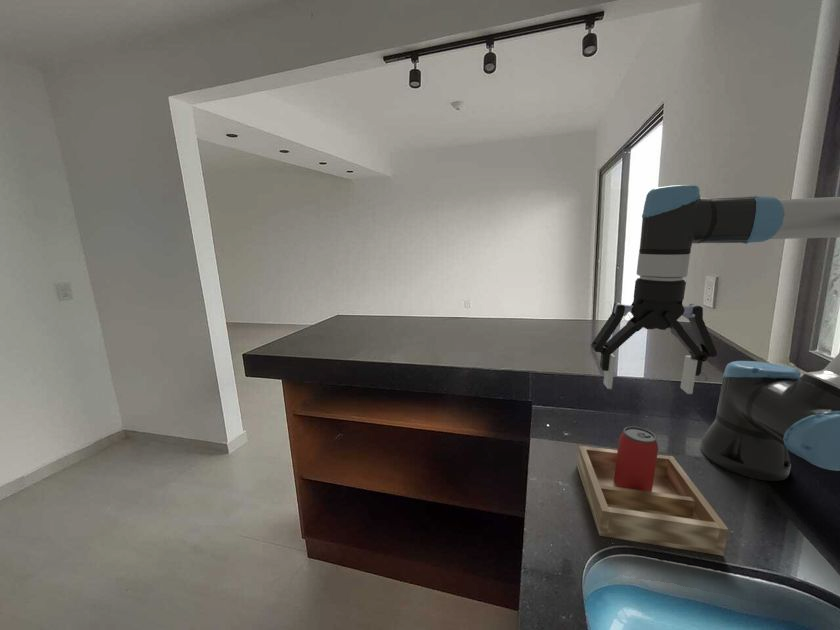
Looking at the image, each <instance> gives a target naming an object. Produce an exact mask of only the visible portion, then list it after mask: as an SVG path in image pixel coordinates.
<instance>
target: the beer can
mask: <svg viewBox="0 0 840 630" xmlns="http://www.w3.org/2000/svg"><path fill="white" fill-rule="evenodd" d="M657 439H658V437H657V436H656V435H655V434H654V432H652V431H650V430H648V429H646V428H643V427H639V426H626V427H624V428H623V430H622V433H621V434H620V436H619V439H618V443H617V450H618V452H617V460H616V468H615V476H614V481H615V484H616V485H617V486H618V487H620V488H627V489H635V490H642V491H650V492H652V487H653V480H654V474H655V467H656V461H657V455H659V454H658V453H659V444H658V442H657Z"/></svg>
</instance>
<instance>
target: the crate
mask: <svg viewBox="0 0 840 630" xmlns="http://www.w3.org/2000/svg"><path fill="white" fill-rule="evenodd" d="M617 452H618V449H611V448H610V449H609V448H604V447H603V448H602V447H593V446H585V445H578V451H577V463H576V466H577V470H578V472H579V473H578V474H579V476H580V480H581V482H582V485H583V489H584V492H585V495H586V499H587V501H588V505H589V507H590V511H591V514H592V517H593V520H594V523H595V527H596V530H597V532H598V535H599V536H601V537H607V538H611V539H612V538H613V539H618V540H625V541H629V542H630V541H631V542H637V543H643V544H650V545H655V546H662V547H667V548H674V549H680V550H686V551H691V552H698V553H702V554H703V553H705V554H711V555H716V556H722V557H723V556H724V553H725V550H726V549H725V548H726V545H727V540H728V537H729V536H728V535H729V528H728V527H727V525H726V524H725V523H724V521H723V520H722V519H721V517H720V516H719V515H718V513H717V512H716V511H715V509H714V508H713V507H712V505H710V503H709V502H708V501H707V499H706V497H704V495H703V494H702V493H701V492H700V490H699V489H698V487H697V486H696V485H695V483H694V482H693V481H692V480H691V478H690V477H689V475H688V474H687V472H686V471H685V470H684V469H683V468H682V466H681V465H680V464H679V463H678V461H677V460H676V459H675V457H674V456H672V455H663V454H657V461H656V467H655V474H654V480H653V487H652V492H650V491H642V490H635V489H627V488H620V487H618V486H617V485H616V484H615V481H614V476H615V468H616V460H617Z"/></svg>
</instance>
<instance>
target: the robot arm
mask: <svg viewBox="0 0 840 630" xmlns="http://www.w3.org/2000/svg"><path fill="white" fill-rule="evenodd" d="M641 218H642V220H641V221H642V222H641V230H640V240H639V241H640V243H639V250H638V256H637V257H638V259H637V268H636V275H637V276H638V277H637V278H636V279H635V283H634V291H633V292H634V293H633V301H632V303H631V304H622V303H620V302H614V304H613V307H612V310H611V311H612V312H611V314H610V316H609V317H608V319H607V320H606V322H605V323H604V325H603V326H602V328H601V329H600V330H599V332H598V334H597V336H596V337H595V338H594V340H593V341H592V342H591V345H590V346H591V348H592V350H594V351H595V352H596V353H600V361H599V368H600V369H601V371H604V374H603V385H604V386H605V387H606V389H607V390H612V389H613V381H614V374H615V373H614V371H615V364H616V363H615V362H616V356H615V355H614V354H613V353H614V352H615V351H617V349H618V348H621V346H622V345H623V344H624V343H625V342H626V341H627V340H629V339H630V338H631V337H633V335H635V333H637V332H639V331H641V330H642V329H643V328H644V329H645V330H654V329H655V330H656V329H658V330H663V331H665V330H667V329H669V330H670V331H671V332H672V333H673V335H674V336H676V338H677V339H678V341H679V342H680V343H681V344H682V345H683V347H684V349H686V350H687V351H688V352H689V354H690V355H685V356H684V362H683V368H682V375H681V380H680V381H681V382H680V389H681V390H683V391H684V392H685V393H686V394H687V395H693V392H694V385H695V380H696V377H698V376H700V375H701V373H702V367H703V362H707V360H708V358H710V357H711V358H715V357H717V355H718V352H717V350H716V346H715V345H714V342H713V340H712V338H711V335H710V332H709V331H708V328H707V326H706V323H705V321H704V318H703V317H704V308H703V307H702V306H700V305H698V304H695V303H689V305H683V303H684V302H683V301H684V299H685V292H686V286H687V282H686V281H685V279H684V278H687V276H688V273H689V265H690V257H691V251H692V247H693V244H745V245H747V244H749V243H762V242H766V241H769V240H781V239H782V240H787V239H788V240H792V239H793V240H794V239H795V240H796V239H823V238H824V239H826V238H827V239H829V238H833V239H835V238H840V196H833V197H830V196H828V197H809V198H808V197H807V198H788V199H787V198H785V199H778V198H776V197H774V196H765V195H764V196H761V195H760V196H758V195H756V194H755V195H752V196H750V195H749V196H748V195H747V196H728V197H726V196H725V197H713V198H712V197H711V198H710V197H709V198H708V197H701V195H700V187H699V186H698V185H695V184H690V185H689V184H680V185H679V184H677V185H668V186H659V187H656V188H653V189H651V190H650V191H649V192H647V194H646V196H645V201H644V206H643V211H642V214H641ZM629 313H630V314H631V316H632V317H631V318H630V319H629V320H628V321H627V322H626V324H625V325H624V326H623V327H621V329H620V330H619V331H617V332H616V333H615V334H614V335H613V333H614V332H615V330H616V329H617V327H618V326H619V325H620V323H621V321H622V320H623V318H624V317H625V316H627V315H628V314H629ZM683 315H685V317H687V318H688V321H689V323H690V326H691V328H692V330H693V333H694V336H695V337H696V340H697V343H698V345H699V346H698V345H697V344H696V343H695V341H694V340H693V339H692V338H691V337H690V336H689V333H687V331H686V330H685V329H684V327H683V326H682V325H681V323H680V322H679V321H678V320H679V319H680V318H681V317H682V316H683ZM801 374H802V372H801V371H800V370H799V369H798V368H795V367H793V366H787V365H783V364H776V363H772V362H771V363H770V362H763V361H754V360H752V361H750V360H736V361H731V362H729V363H727V365H726V367H725V369H724V371H723V375H722V376H721V377H722V382H721V387H720V393H719V398H718V399H719V400H718V404H717V408H716V409H717V410H716V415H715V419H714V420H713V422H712V423H711V425H710V426H709V427H708V429H707V430H706V431H705V433H704V435H703V436H702V438H701V441H700V447H699V448H700V451H701V452H702V454H703V456H705V457H706V458H707V459H708V460H710V461H711V462H713V463H714V464H716V465H718V466H719V467H722V468H724V469H725V470H727V471H730V472H733V473H735V474H738V475H740V476H744V477H747V478H750V479H755V480H761V481H765V482H766V481H768V482H769V481H770V482H779V481H784V480H786V479H788V478H789V475H790V472H791V468H792V464H791V457H790V454H789V451H790V453H792V454H794V455H796V456H798V458H799V457H800V458H802V459H804V460H805V461H807V462H809V463H810V464H812V465H814V466H816V467H818V468H821V469H824V470H828V471H836V472H840V352H839V353H837V354H836V355H835V357H834V358H833V359H832V360H831V361H830V362H829V363H828V364H827V365H826V366H825V367H824V368H823V369H822V370H819V371H809V372H807V371H806V372H804V373H803V374H802V375H801Z"/></svg>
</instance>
